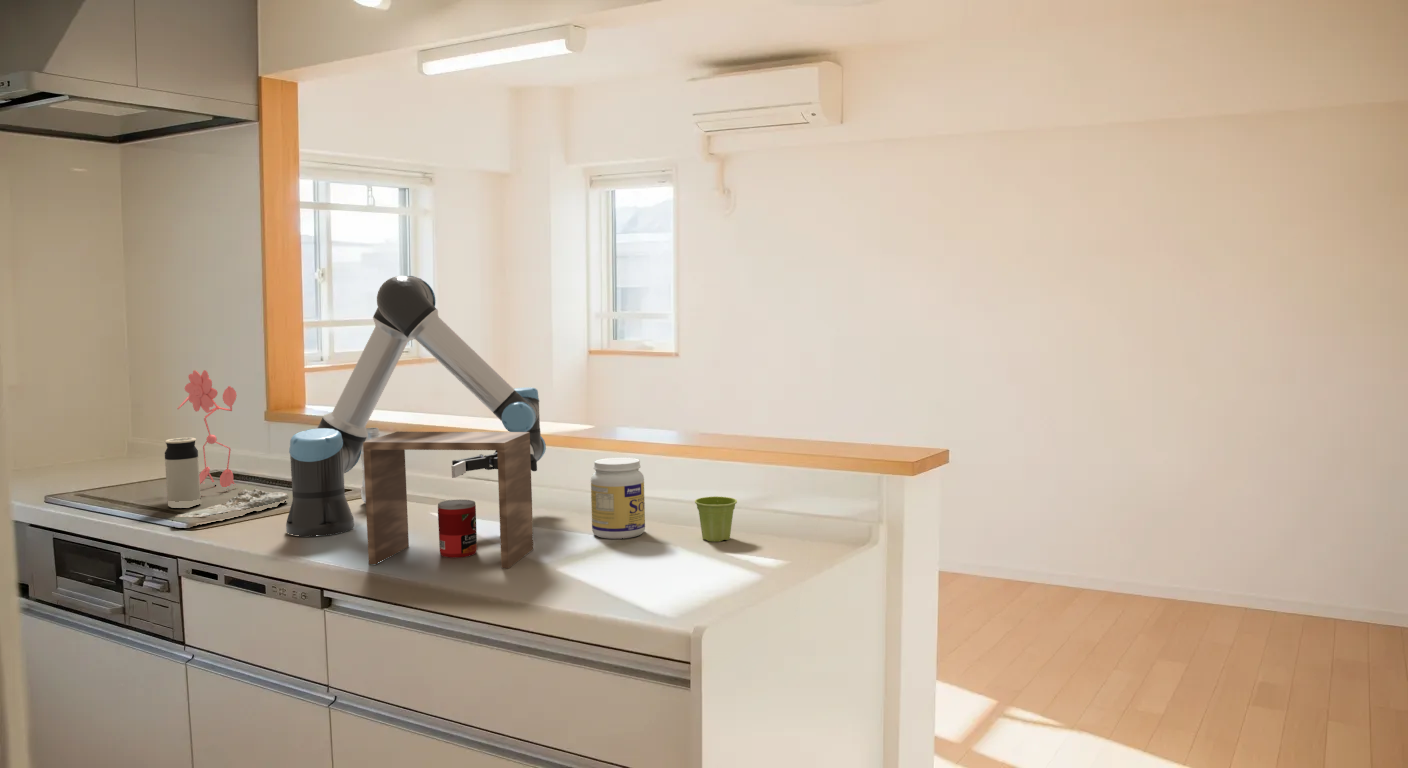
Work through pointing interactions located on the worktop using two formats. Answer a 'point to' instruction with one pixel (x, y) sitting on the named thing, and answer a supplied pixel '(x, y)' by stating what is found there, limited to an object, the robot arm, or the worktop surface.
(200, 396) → the pink flower figurine
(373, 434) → the plastic bottle
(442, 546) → the canned food
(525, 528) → the shelf riser
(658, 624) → the worktop surface
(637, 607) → the worktop surface
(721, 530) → the plant pot
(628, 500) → the supplement tub
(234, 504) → the elongated rock
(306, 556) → the worktop surface
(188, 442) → the travel mug
